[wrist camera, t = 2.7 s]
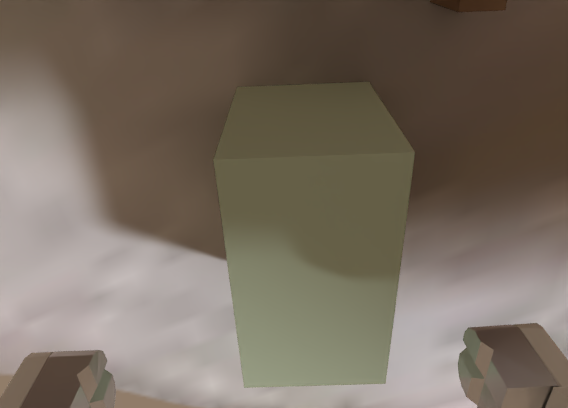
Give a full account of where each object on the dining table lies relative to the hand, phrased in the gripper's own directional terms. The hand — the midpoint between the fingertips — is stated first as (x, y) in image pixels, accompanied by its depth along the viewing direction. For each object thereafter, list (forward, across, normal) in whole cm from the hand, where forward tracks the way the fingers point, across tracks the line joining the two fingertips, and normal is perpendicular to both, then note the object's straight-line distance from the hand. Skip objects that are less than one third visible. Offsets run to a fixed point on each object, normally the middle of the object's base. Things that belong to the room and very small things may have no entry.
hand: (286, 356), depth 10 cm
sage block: (+8, -1, 0) cm, 8 cm away
